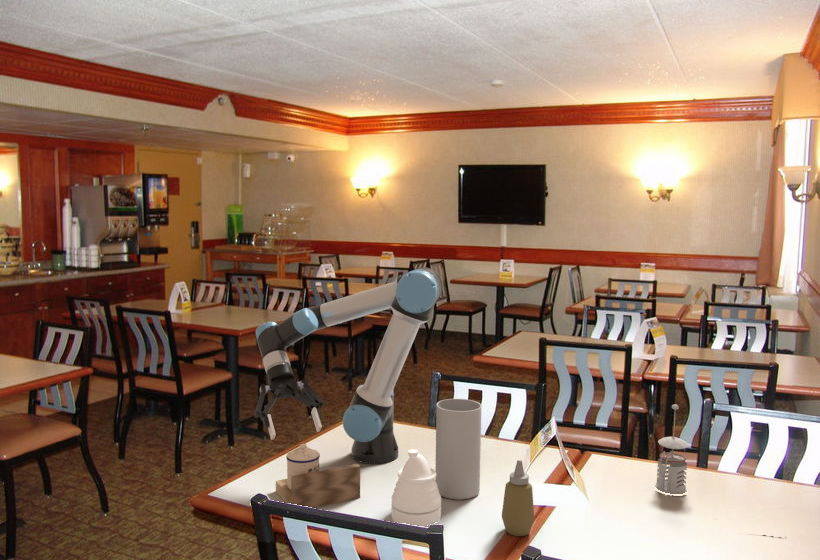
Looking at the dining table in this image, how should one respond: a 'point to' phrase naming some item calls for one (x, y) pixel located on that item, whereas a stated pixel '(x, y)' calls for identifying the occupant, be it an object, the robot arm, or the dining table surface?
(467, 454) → the cylinder vase
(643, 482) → the dining table surface
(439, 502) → the honey pot
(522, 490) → the squeeze bottle
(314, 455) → the teacup with lid
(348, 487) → the cleat board
